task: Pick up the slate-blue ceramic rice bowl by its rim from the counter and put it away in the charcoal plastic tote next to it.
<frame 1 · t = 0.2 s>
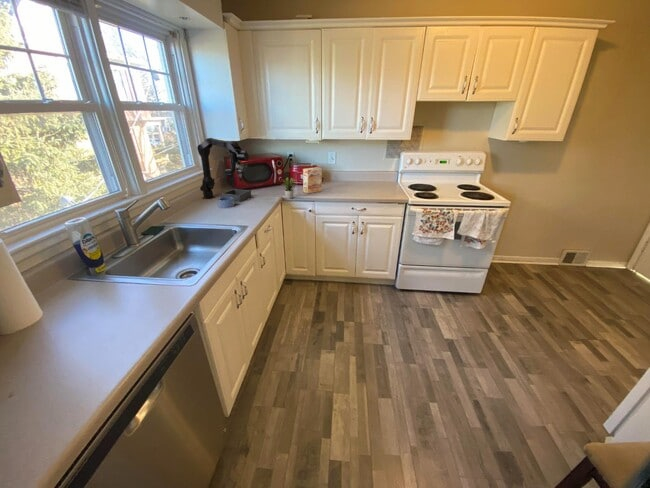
hand: (237, 182, 204), 14 cm above the countertop, tool pointing down, fingers open, 9 cm apart
house plant: (289, 198, 220), on the countertop
coffeecake box: (312, 191, 239), on the countertop
tote: (237, 198, 218), on the countertop
rice bowl: (226, 205, 200), on the countertop
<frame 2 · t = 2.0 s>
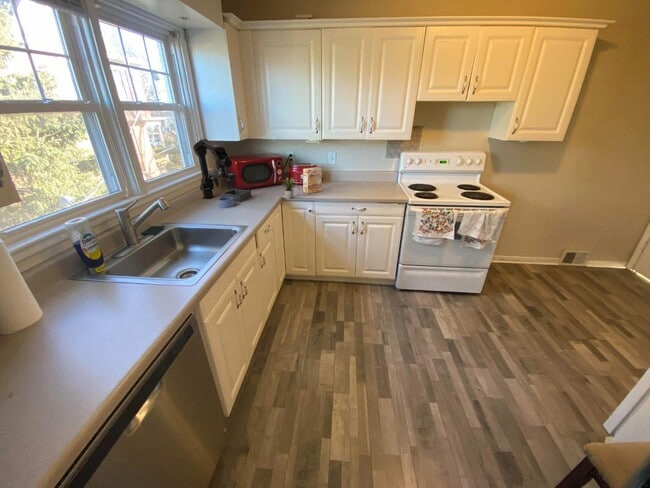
hand: (223, 187, 199), 12 cm above the countertop, tool pointing down, fingers open, 9 cm apart
nothing on the countertop moved.
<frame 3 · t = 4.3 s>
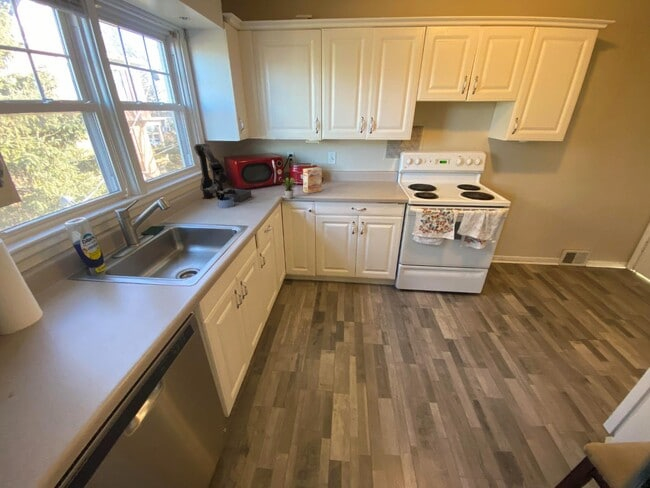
hand: (220, 202, 201), 2 cm above the countertop, tool pointing down, fingers closed on rice bowl
rice bowl: (226, 205, 200), on the countertop, touching gripper
everything else where it was.
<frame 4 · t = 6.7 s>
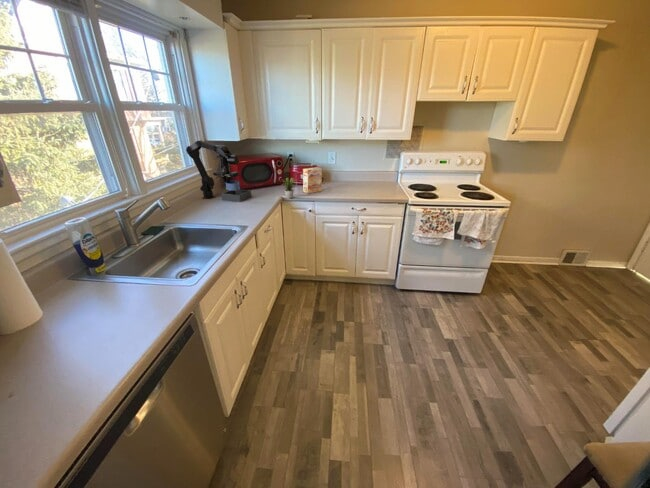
hand: (227, 185, 210), 11 cm above the countertop, tool pointing down, fingers closed on rice bowl
rice bowl: (233, 188, 209), point 9 cm above the countertop, touching gripper
everything else where it was.
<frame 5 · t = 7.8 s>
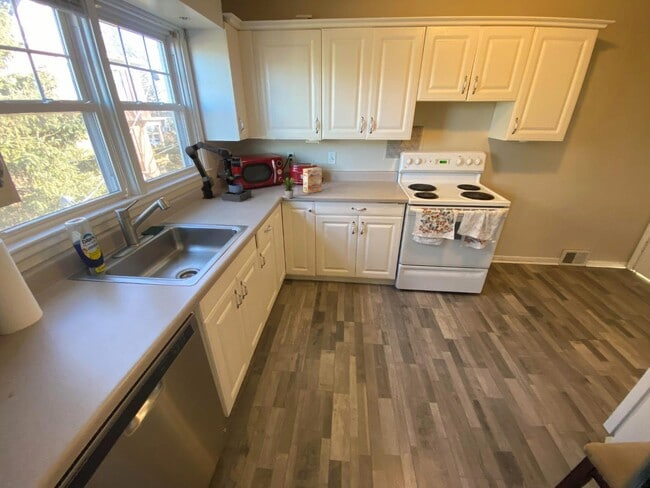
hand: (230, 187, 216), 8 cm above the countertop, tool pointing down, fingers closed on rice bowl
rice bowl: (236, 190, 215), point 6 cm above the countertop, touching gripper
everything else where it was.
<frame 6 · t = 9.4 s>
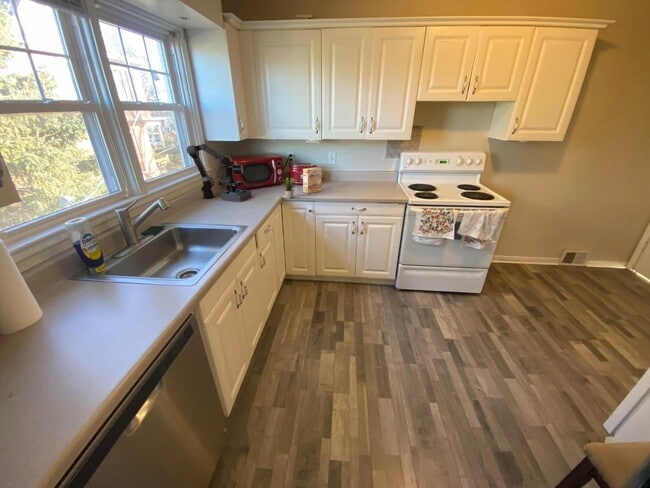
hand: (232, 194, 218), 3 cm above the countertop, tool pointing down, fingers open, 3 cm apart
rice bowl: (237, 197, 218), resting on tote
everything else where it was.
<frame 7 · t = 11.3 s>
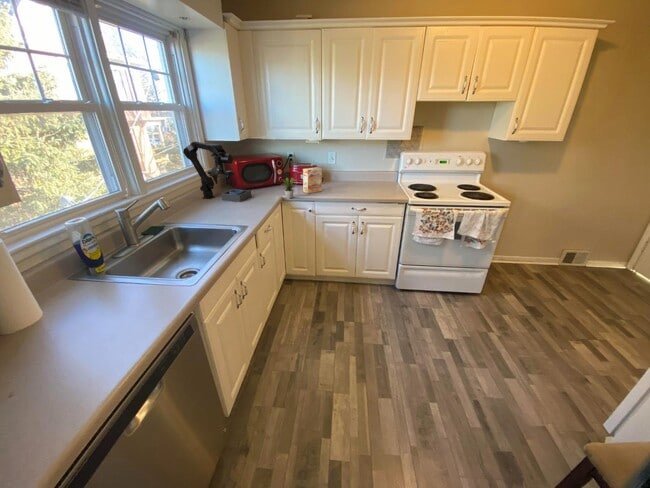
hand: (222, 184, 209), 12 cm above the countertop, tool pointing down, fingers open, 9 cm apart
nothing on the countertop moved.
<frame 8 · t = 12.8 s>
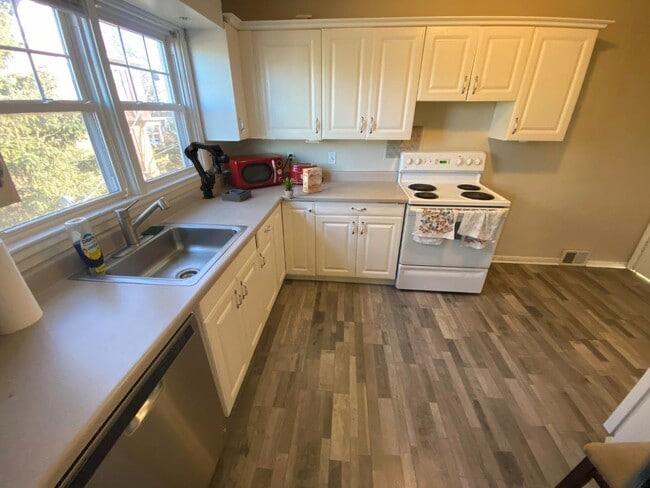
hand: (219, 184, 208), 12 cm above the countertop, tool pointing down, fingers open, 9 cm apart
nothing on the countertop moved.
at the end: rice bowl inside the target area in the tote (0.2 cm from its centre), point 0.5 cm above the tote's base; rice bowl tilted 0°; the gripper is holding nothing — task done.
